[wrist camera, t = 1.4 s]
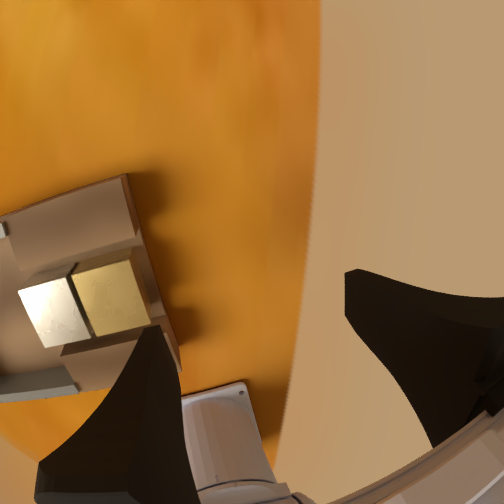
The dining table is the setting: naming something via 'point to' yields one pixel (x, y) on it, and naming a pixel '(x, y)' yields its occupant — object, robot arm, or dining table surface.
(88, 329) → the silvery white square block
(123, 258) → the brass chip
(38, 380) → the tray
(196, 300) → the dining table surface
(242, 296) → the dining table surface
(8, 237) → the slot board
